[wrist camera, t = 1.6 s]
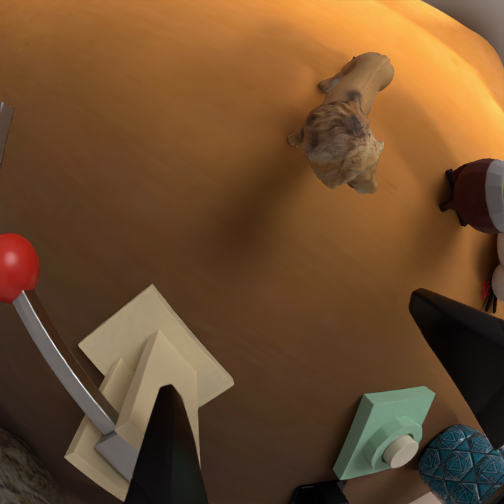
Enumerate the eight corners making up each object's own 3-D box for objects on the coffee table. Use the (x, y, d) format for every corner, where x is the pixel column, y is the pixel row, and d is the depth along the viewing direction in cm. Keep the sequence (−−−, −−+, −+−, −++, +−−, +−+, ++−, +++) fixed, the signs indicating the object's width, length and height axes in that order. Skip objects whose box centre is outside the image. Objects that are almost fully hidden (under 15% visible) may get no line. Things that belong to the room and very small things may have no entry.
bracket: (82, 339, 20) (8, 424, 8) (152, 283, 21) (103, 350, 9) (161, 422, 22) (151, 532, 10) (232, 377, 23) (264, 489, 11)
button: (402, 455, 24) (410, 463, 22) (377, 462, 23) (385, 471, 21) (414, 431, 23) (423, 439, 22) (389, 437, 23) (398, 446, 21)
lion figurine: (326, 210, 23) (394, 205, 14) (265, 181, 22) (308, 155, 13) (373, 74, 23) (431, 32, 14) (325, 45, 22) (372, -10, 13)
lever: (1, 261, 13) (-38, 259, 9) (34, 223, 13) (-5, 213, 10) (138, 459, 13) (121, 495, 9) (183, 435, 13) (172, 475, 10)
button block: (392, 456, 28) (407, 473, 24) (332, 469, 26) (345, 490, 22) (424, 385, 27) (445, 400, 23) (363, 393, 25) (383, 413, 22)
